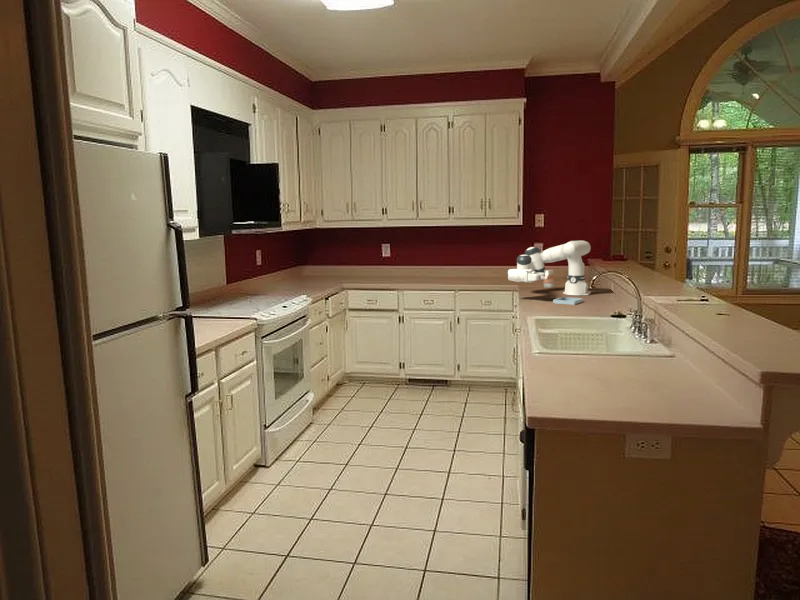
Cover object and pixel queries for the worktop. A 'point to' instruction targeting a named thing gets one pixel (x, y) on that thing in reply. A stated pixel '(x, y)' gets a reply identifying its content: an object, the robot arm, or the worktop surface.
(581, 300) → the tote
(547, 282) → the clear glass cup
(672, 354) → the worktop surface
